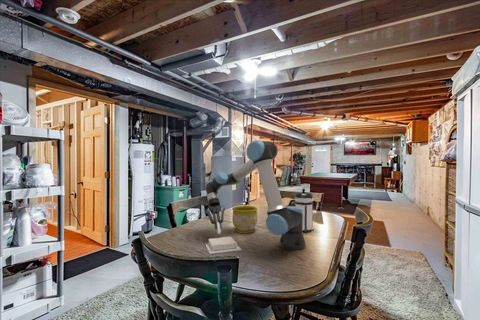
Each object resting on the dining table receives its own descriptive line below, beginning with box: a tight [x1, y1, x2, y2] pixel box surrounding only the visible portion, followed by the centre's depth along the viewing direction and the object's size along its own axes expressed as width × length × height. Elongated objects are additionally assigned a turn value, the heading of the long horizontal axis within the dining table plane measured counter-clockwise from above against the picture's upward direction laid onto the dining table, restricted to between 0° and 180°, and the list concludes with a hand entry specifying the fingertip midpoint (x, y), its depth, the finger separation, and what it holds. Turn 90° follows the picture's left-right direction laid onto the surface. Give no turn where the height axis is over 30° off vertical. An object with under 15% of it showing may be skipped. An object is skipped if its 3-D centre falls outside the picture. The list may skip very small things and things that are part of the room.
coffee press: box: [288, 188, 315, 234], centre depth 177 cm, size 17×16×30 cm
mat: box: [205, 243, 242, 255], centre depth 143 cm, size 14×18×1 cm
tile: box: [207, 236, 238, 251], centre depth 145 cm, size 3×14×12 cm
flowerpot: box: [231, 205, 258, 234], centre depth 176 cm, size 18×18×16 cm
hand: (219, 232), depth 150 cm, fingers closed
